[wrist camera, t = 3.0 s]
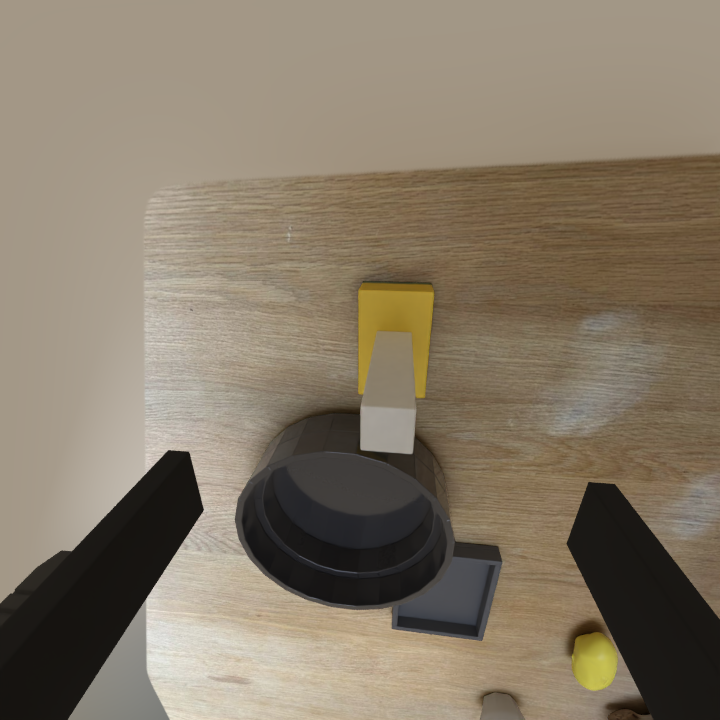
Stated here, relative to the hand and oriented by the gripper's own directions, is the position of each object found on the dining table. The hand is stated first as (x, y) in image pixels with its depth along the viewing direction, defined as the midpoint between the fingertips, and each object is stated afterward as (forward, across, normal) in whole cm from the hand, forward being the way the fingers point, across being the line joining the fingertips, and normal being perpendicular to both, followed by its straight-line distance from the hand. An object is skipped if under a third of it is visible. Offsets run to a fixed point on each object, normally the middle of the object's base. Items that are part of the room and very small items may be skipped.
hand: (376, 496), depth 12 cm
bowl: (+17, -3, -16) cm, 24 cm away
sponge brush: (+17, 0, 0) cm, 17 cm away
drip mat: (+17, +7, -29) cm, 34 cm away
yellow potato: (+17, +24, -36) cm, 46 cm away
